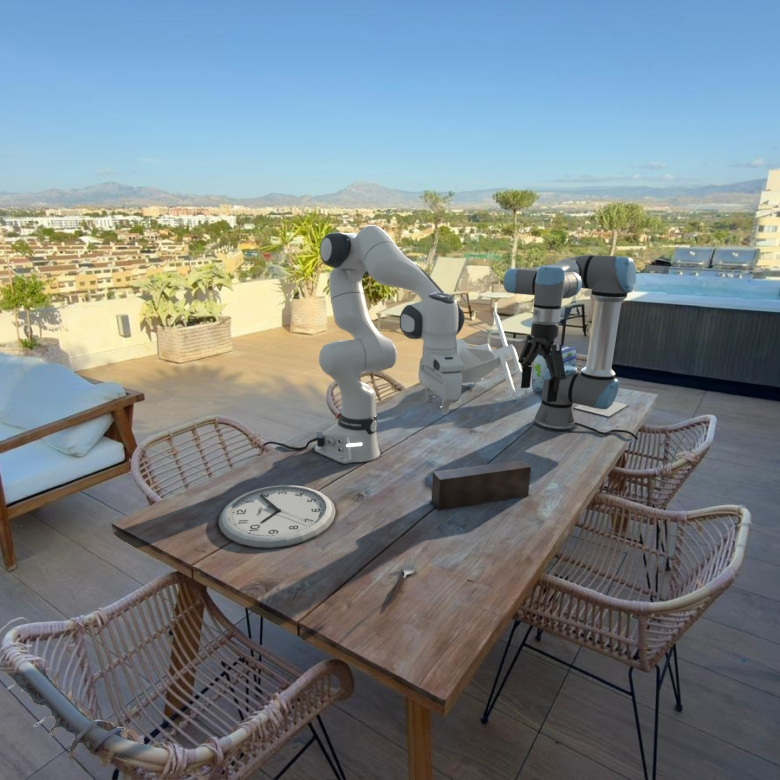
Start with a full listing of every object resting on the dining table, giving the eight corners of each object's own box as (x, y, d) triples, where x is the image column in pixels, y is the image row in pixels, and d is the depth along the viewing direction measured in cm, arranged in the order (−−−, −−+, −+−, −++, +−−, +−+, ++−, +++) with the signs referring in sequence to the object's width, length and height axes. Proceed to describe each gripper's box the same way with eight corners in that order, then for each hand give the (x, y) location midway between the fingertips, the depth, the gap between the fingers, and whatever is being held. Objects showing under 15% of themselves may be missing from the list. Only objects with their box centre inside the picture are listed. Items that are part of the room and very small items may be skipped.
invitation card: (608, 416, 214) (573, 407, 224) (608, 416, 214) (573, 408, 224) (628, 404, 229) (594, 396, 238) (628, 405, 229) (594, 397, 238)
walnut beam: (518, 487, 155) (521, 459, 152) (528, 495, 150) (531, 466, 147) (431, 500, 146) (432, 471, 143) (438, 509, 141) (440, 479, 139)
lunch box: (548, 398, 236) (553, 353, 229) (527, 393, 243) (531, 349, 237) (575, 387, 253) (581, 344, 247) (555, 382, 260) (560, 341, 254)
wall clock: (334, 539, 124) (204, 543, 122) (334, 545, 125) (205, 549, 122) (336, 480, 153) (231, 483, 150) (336, 485, 153) (231, 488, 151)
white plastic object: (461, 429, 252) (437, 405, 227) (444, 352, 274) (420, 323, 250) (535, 404, 240) (518, 377, 215) (510, 326, 262) (492, 293, 237)
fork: (383, 605, 105) (383, 597, 105) (407, 560, 120) (408, 552, 119) (395, 608, 104) (395, 600, 104) (418, 562, 119) (419, 555, 118)
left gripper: (413, 349, 144) (412, 397, 148) (443, 367, 125) (441, 421, 129) (434, 348, 146) (432, 395, 150) (467, 366, 127) (464, 419, 131)
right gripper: (510, 315, 157) (504, 383, 164) (561, 331, 135) (552, 409, 141) (532, 315, 160) (525, 381, 166) (585, 330, 137) (575, 406, 143)
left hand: (436, 407), depth 139 cm, fingers open, 8 cm apart
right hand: (537, 394), depth 153 cm, fingers open, 13 cm apart
